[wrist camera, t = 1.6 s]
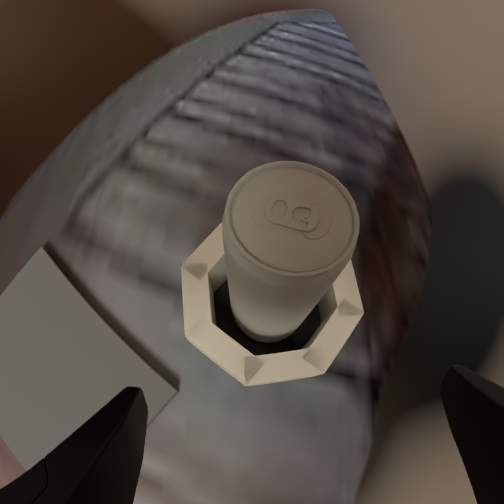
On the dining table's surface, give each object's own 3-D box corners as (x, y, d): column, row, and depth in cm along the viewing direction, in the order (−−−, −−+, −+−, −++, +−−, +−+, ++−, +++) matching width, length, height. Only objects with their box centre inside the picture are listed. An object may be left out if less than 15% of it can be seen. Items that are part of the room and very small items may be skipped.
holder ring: (364, 295, 22) (386, 274, 18) (282, 413, 18) (291, 417, 14) (253, 218, 24) (255, 186, 20) (163, 319, 21) (146, 302, 17)
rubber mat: (179, 391, 18) (176, 390, 18) (69, 510, 14) (64, 513, 13) (46, 250, 22) (41, 246, 22) (-37, 360, 17) (-42, 359, 17)
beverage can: (291, 353, 20) (351, 300, 9) (221, 331, 20) (197, 254, 10) (309, 287, 22) (370, 179, 11) (244, 267, 22) (246, 144, 12)
